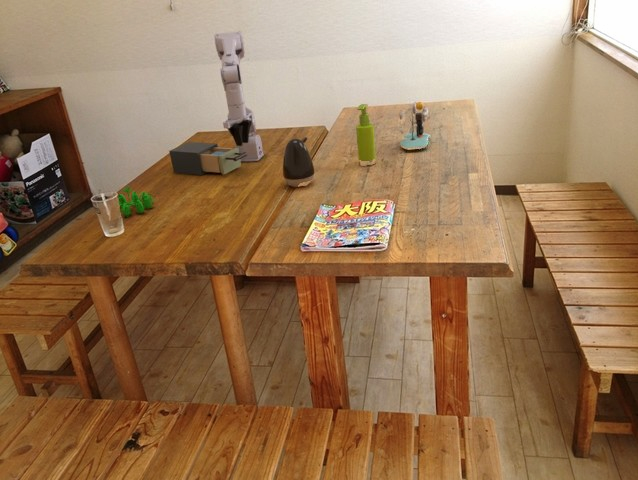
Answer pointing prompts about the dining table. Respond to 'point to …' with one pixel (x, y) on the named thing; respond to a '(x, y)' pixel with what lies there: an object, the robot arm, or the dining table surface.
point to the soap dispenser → (365, 136)
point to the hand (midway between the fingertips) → (242, 144)
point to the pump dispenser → (297, 163)
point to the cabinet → (189, 157)
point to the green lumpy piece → (135, 202)
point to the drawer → (221, 160)
